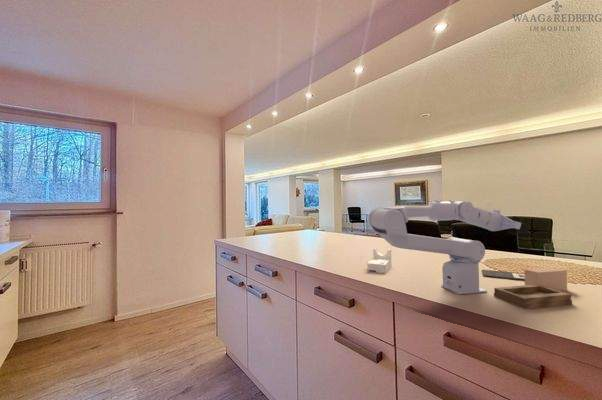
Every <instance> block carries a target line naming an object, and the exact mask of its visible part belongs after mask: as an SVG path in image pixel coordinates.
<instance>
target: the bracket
mask: <svg viewBox="0 0 602 400" xmlns="http://www.w3.org/2000/svg"><path fill="white" fill-rule="evenodd" d="M372 251H373V252H372V253H373V254H372V255H373V257H372V259H370V260H369V261H368V262H367V263H366V264H367V265H366V266H367V268H366V269H367V270H368V271H375V272H376V273H378V272H379V273H382V274H387V272H388V271H389V270H390V268H391V267H393V266H392V249H391V248H388V249H387V251H386V253H385V254H382V253H380V252H379V251H378V249H377V248H376V247H374V248H373V249H372Z"/></svg>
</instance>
